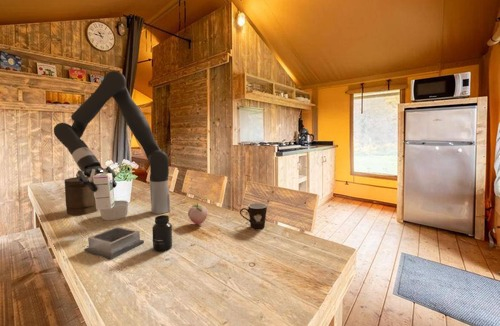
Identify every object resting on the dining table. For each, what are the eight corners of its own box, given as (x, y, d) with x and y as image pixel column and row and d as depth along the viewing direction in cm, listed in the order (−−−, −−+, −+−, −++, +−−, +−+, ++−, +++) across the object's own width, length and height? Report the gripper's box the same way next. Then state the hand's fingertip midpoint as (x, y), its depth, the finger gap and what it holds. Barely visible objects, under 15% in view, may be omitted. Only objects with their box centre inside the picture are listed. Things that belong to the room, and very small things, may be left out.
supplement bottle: (154, 254, 87) (152, 221, 86) (152, 246, 93) (150, 215, 92) (174, 249, 90) (172, 218, 89) (170, 242, 97) (169, 213, 95)
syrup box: (111, 208, 103) (109, 174, 101) (95, 210, 102) (92, 175, 100) (114, 205, 109) (112, 172, 107) (99, 206, 107) (97, 173, 105)
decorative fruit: (211, 224, 116) (211, 203, 114) (197, 229, 110) (196, 207, 108) (199, 219, 122) (199, 200, 121) (185, 224, 116) (184, 203, 115)
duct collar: (119, 236, 102) (118, 225, 101) (144, 242, 96) (143, 230, 95) (84, 251, 89) (83, 238, 88) (111, 259, 83) (110, 245, 83)
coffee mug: (269, 225, 115) (269, 204, 114) (262, 231, 107) (262, 209, 106) (247, 221, 120) (247, 201, 119) (239, 227, 112) (238, 206, 111)
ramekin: (93, 219, 123) (92, 205, 122) (116, 211, 135) (116, 199, 134) (112, 223, 118) (111, 208, 117) (134, 214, 130) (134, 201, 129)
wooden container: (104, 209, 137) (101, 170, 135) (74, 217, 125) (70, 174, 122) (91, 205, 145) (88, 168, 143) (61, 212, 133) (57, 172, 130)
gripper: (72, 155, 99) (92, 186, 96) (105, 153, 112) (124, 180, 109) (65, 168, 102) (85, 198, 98) (98, 163, 115) (117, 190, 111)
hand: (105, 188), depth 103 cm, fingers closed on syrup box, 8 cm apart
